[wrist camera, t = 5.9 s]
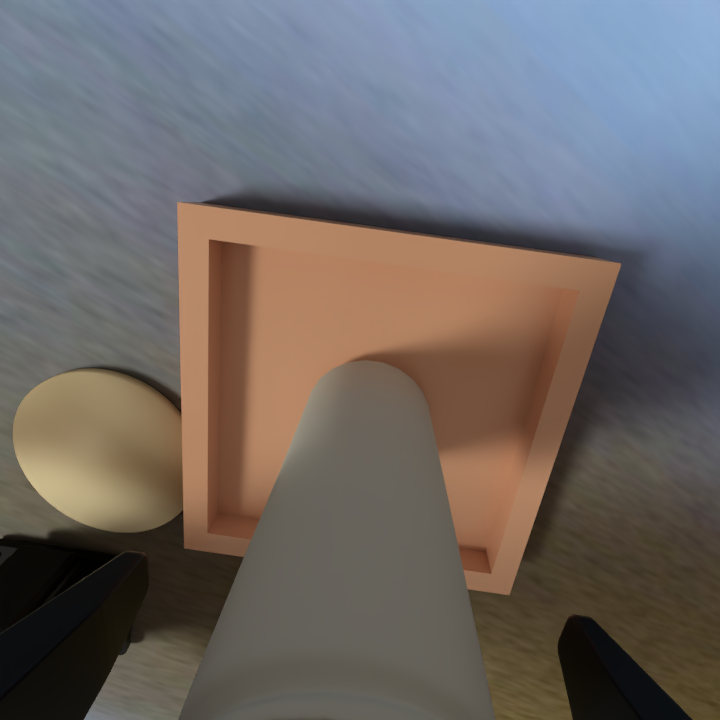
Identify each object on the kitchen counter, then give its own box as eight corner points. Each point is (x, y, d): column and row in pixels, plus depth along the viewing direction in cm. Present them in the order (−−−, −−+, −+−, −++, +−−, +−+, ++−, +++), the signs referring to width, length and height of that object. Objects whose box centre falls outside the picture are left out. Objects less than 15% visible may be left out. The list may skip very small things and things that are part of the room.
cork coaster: (201, 535, 20) (196, 544, 20) (35, 512, 20) (26, 519, 20) (200, 382, 17) (195, 387, 17) (8, 355, 18) (-2, 359, 17)
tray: (498, 562, 20) (509, 595, 18) (201, 519, 20) (184, 548, 18) (594, 256, 15) (621, 263, 13) (200, 202, 15) (177, 201, 13)
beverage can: (453, 414, 17) (596, 850, 5) (366, 484, 18) (336, 949, 7) (367, 329, 16) (321, 646, 4) (281, 410, 17) (80, 811, 6)
